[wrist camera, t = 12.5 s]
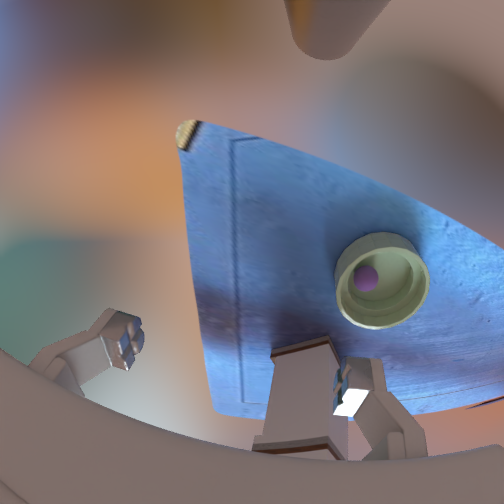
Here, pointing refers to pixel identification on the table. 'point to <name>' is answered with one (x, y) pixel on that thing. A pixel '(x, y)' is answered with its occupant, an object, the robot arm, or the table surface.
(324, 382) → the brown-rimmed upright block
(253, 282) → the table surface
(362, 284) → the ball
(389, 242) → the bowl
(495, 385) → the table surface
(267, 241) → the table surface
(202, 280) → the table surface
